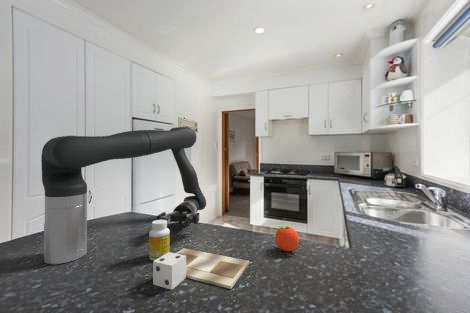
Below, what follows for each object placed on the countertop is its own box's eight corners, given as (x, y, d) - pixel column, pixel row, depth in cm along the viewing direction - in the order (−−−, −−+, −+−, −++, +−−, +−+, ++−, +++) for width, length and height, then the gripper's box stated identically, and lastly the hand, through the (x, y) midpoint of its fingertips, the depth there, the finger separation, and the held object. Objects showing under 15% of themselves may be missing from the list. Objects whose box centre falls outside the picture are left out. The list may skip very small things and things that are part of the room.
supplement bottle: (163, 262, 57) (163, 225, 57) (144, 260, 58) (145, 223, 58) (173, 253, 62) (173, 219, 63) (156, 251, 64) (156, 218, 64)
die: (152, 284, 47) (153, 261, 47) (168, 273, 52) (168, 251, 52) (171, 290, 45) (171, 265, 45) (186, 277, 50) (186, 255, 50)
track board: (154, 269, 53) (154, 266, 53) (183, 250, 65) (183, 247, 65) (231, 289, 46) (231, 285, 46) (249, 263, 57) (249, 260, 57)
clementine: (268, 251, 64) (268, 226, 64) (276, 243, 70) (276, 221, 70) (294, 257, 60) (295, 231, 60) (301, 248, 66) (301, 225, 66)
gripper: (167, 202, 86) (150, 212, 70) (203, 202, 86) (194, 213, 70) (167, 221, 86) (150, 235, 70) (203, 221, 86) (194, 236, 70)
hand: (172, 224), depth 70 cm, fingers open, 8 cm apart
